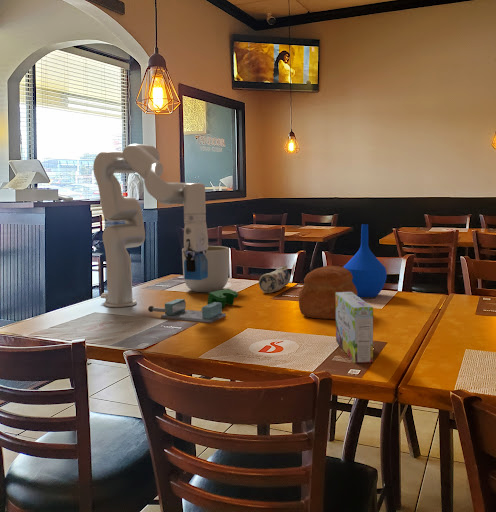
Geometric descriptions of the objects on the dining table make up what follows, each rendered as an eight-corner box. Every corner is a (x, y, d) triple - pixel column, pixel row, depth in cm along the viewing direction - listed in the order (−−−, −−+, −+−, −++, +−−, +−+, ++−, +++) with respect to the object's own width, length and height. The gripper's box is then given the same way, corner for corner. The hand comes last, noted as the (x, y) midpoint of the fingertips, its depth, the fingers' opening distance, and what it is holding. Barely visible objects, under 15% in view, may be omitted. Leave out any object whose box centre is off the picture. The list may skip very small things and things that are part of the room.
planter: (228, 294, 241) (227, 250, 238) (180, 295, 241) (179, 251, 239) (230, 286, 261) (230, 245, 259) (186, 286, 262) (185, 246, 259)
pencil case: (273, 285, 263) (273, 264, 261) (291, 286, 259) (291, 265, 258) (257, 294, 242) (257, 271, 241) (276, 295, 239) (276, 272, 238)
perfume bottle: (191, 276, 201) (191, 243, 200) (207, 277, 199) (207, 243, 198) (184, 279, 195) (183, 245, 194) (200, 280, 193) (200, 245, 192)
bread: (295, 317, 198) (295, 270, 196) (315, 305, 217) (315, 262, 215) (343, 322, 190) (343, 273, 188) (360, 309, 209) (360, 264, 207)
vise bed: (161, 318, 198) (160, 304, 198) (177, 311, 208) (176, 298, 208) (211, 322, 190) (211, 308, 190) (225, 316, 200) (225, 302, 200)
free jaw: (147, 313, 201) (146, 302, 201) (161, 308, 210) (161, 297, 209) (172, 315, 197) (172, 304, 196) (186, 310, 206) (185, 299, 205)
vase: (392, 294, 238) (393, 223, 234) (377, 301, 222) (378, 226, 219) (351, 290, 248) (352, 222, 244) (334, 297, 232) (335, 225, 229)
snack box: (333, 341, 166) (334, 291, 164) (352, 341, 167) (353, 291, 165) (353, 364, 145) (354, 306, 143) (374, 363, 146) (375, 306, 144)
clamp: (219, 319, 215) (217, 300, 210) (208, 313, 219) (205, 294, 214) (240, 303, 222) (238, 284, 217) (229, 297, 226) (227, 279, 221)
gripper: (192, 220, 185) (193, 274, 187) (215, 217, 201) (216, 267, 203) (172, 220, 188) (173, 272, 190) (197, 217, 204) (198, 266, 206)
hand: (195, 269), depth 197 cm, fingers closed on perfume bottle, 6 cm apart
